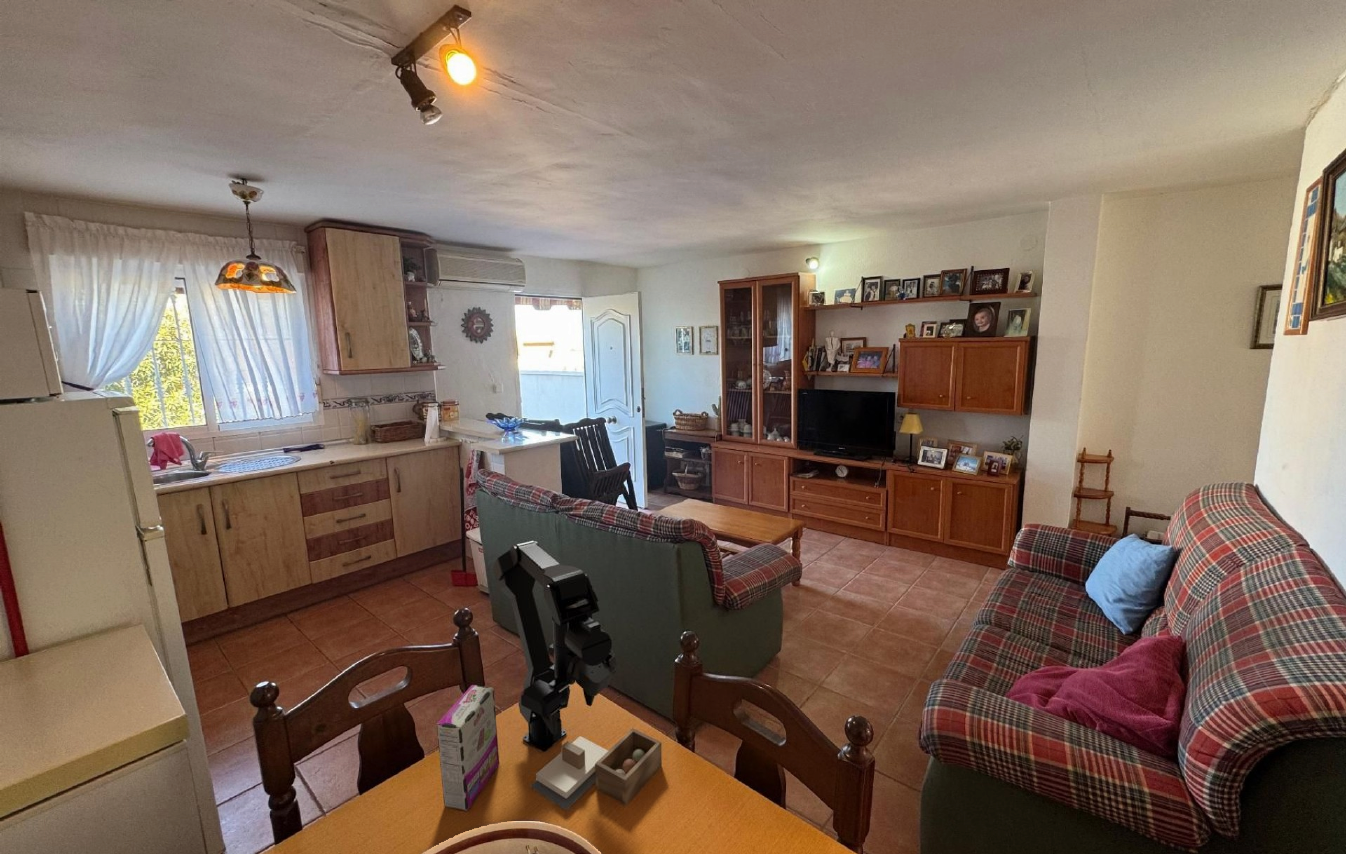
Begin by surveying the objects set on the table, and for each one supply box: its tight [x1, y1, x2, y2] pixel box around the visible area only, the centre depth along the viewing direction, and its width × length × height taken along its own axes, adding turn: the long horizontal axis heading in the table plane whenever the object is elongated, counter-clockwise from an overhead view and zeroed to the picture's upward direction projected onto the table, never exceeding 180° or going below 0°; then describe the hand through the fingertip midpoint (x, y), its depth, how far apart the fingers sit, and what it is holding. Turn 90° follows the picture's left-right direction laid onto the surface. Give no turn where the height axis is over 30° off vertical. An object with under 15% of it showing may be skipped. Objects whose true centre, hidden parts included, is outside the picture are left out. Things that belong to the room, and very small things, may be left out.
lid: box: [535, 736, 609, 799], centre depth 101 cm, size 12×8×5 cm, turn 146°
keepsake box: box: [595, 727, 663, 806], centre depth 101 cm, size 11×7×5 cm, turn 146°
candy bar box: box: [436, 684, 500, 812], centre depth 98 cm, size 11×5×16 cm, turn 168°
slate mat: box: [530, 772, 596, 812], centre depth 101 cm, size 9×13×1 cm
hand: (572, 718), depth 100 cm, fingers open, 9 cm apart
